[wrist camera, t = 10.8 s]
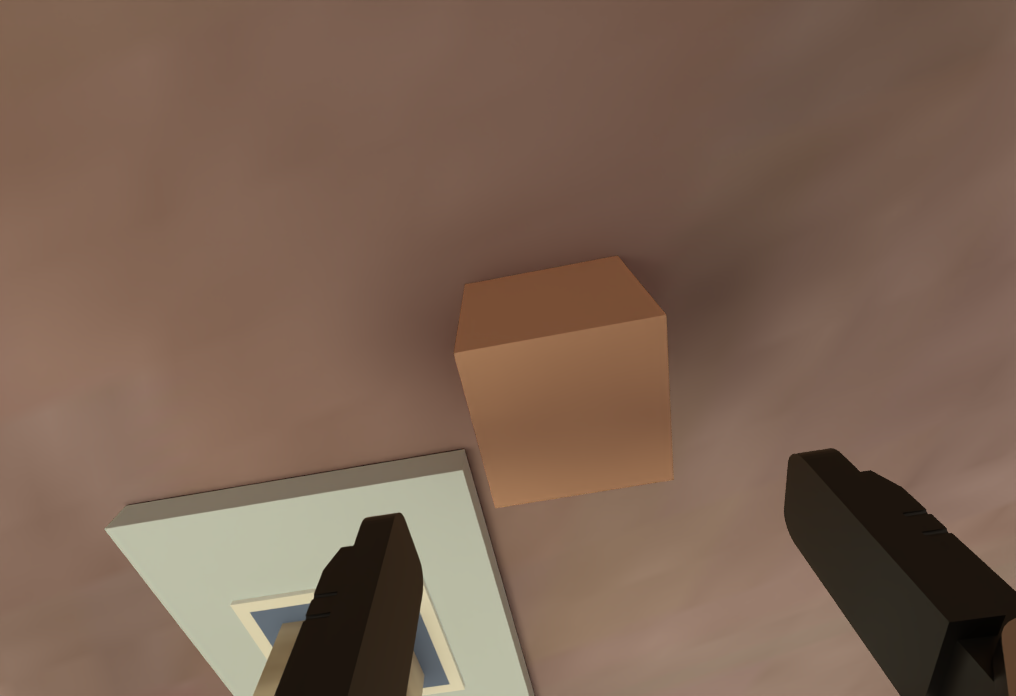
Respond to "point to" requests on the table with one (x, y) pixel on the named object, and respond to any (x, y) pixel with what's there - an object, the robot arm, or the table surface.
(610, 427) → the terracotta block
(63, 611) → the table surface
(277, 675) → the birch block
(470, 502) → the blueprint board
